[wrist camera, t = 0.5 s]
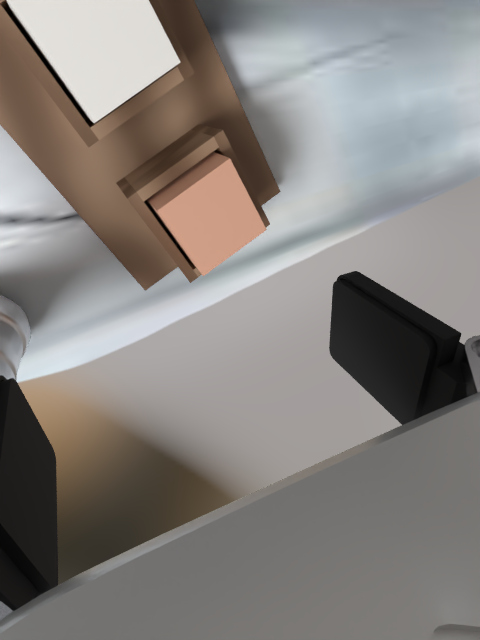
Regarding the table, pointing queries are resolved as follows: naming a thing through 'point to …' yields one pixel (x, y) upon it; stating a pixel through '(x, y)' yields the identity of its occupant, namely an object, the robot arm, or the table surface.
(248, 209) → the terracotta key
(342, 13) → the table surface
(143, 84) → the white square block
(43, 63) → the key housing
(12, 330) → the plastic bottle
